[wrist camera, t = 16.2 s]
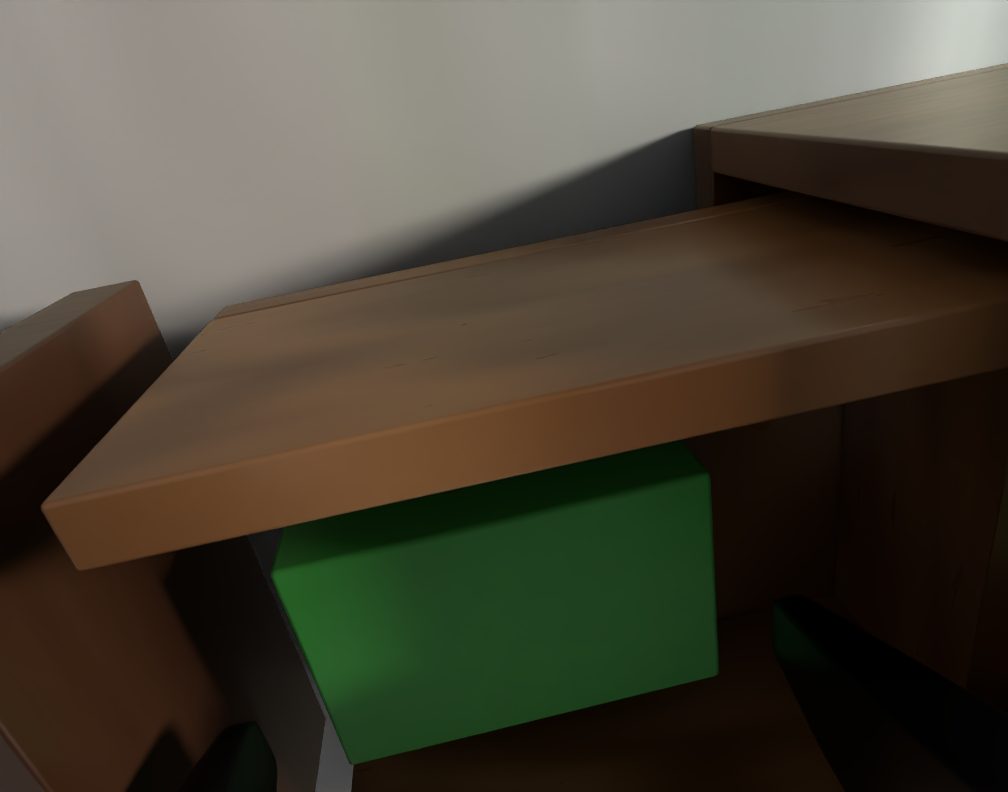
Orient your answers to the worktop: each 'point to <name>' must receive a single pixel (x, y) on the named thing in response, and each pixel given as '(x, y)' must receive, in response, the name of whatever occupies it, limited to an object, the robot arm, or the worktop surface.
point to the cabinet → (893, 190)
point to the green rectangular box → (505, 599)
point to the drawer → (493, 456)
